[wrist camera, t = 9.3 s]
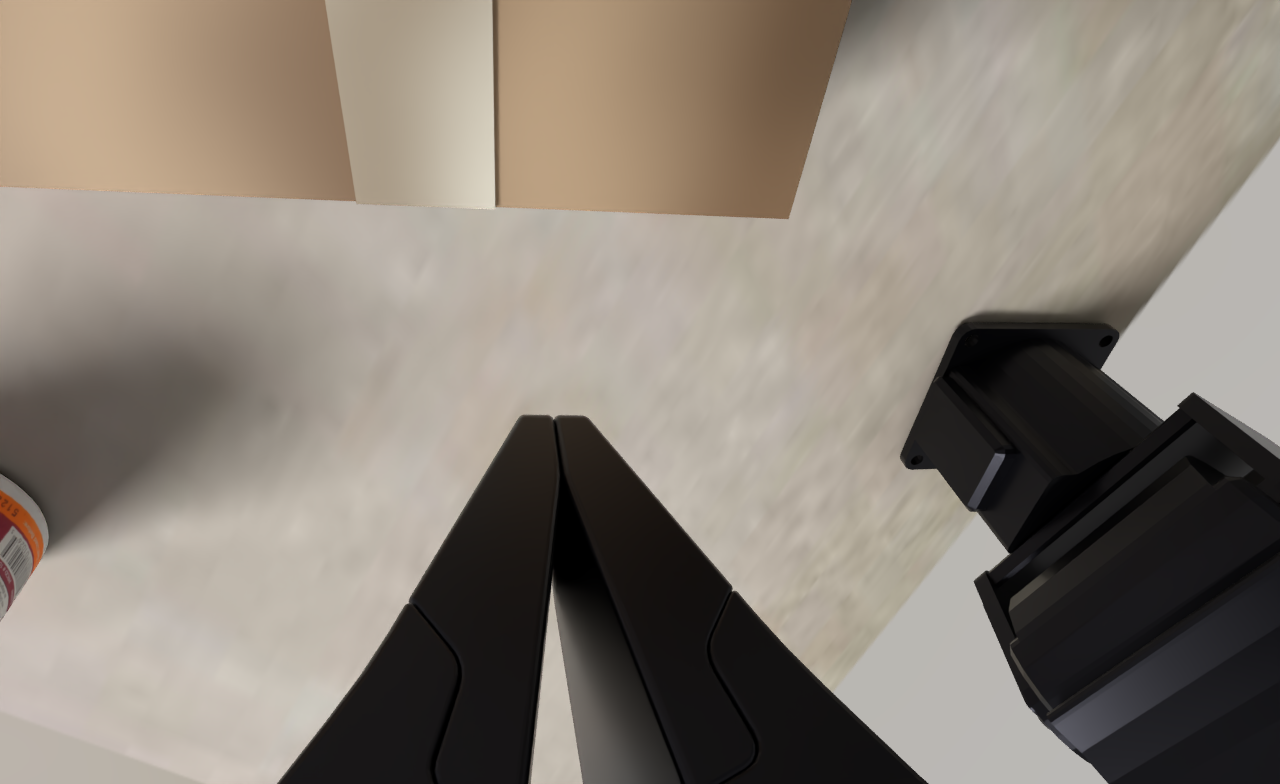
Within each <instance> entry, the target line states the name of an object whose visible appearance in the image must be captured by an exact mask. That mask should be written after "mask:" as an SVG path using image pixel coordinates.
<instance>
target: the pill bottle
mask: <svg viewBox="0 0 1280 784" xmlns="http://www.w3.org/2000/svg"><path fill="white" fill-rule="evenodd" d="M48 540H49V535H48V527H47V523H46V520H45V518H44V516H43V514H42V512H41V510H40V508H39V507H38V506H37V504H36V503H35V502H34V501H33V499H32V498H31V497H30V496H28V495H27V494H26V493H25V492H24V491H23V490H22V489H21V488H20V487H19V486H17V485H16V484H15V483H13V482H12V481H11V480H9V479H8V478H6V477H5V476H3V475H2V474H0V621H1V620H2V618H3V617H4V615H5V614H6V612H7V611H8V609H9V608H10V606H11V605H12V603H13V601H14V600H15V598H16V597H17V596H18V594H19V593H20V592H21V590H22V588H23V586H24V585H25V583H26V582H27V580H28V579H29V577H30V576H31V574H32V573H33V571H34V570H35V568H36V567H37V565H38V564H39V562H40V560H41V558H42V556H43V555H44V553H45V551H46V548H47V545H48Z"/></svg>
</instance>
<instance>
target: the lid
mask: <svg viewBox="0 0 1280 784" xmlns="http://www.w3.org/2000/svg"><path fill="white" fill-rule="evenodd" d="M851 2H852V0H0V187H22V188H47V189H71V190H95V191H120V192H144V193H169V194H193V195H217V196H242V197H266V198H290V199H315V200H339V201H356V203H357V204H373V205H398V206H423V207H447V208H472V209H495V207H510V208H534V209H559V210H583V211H607V212H632V213H656V214H681V215H705V216H729V217H754V218H778V219H789V215H790V212H791V208H792V205H793V202H794V198H795V195H796V191H797V188H798V184H799V181H800V178H801V174H802V171H803V167H804V164H805V160H806V157H807V153H808V150H809V147H810V143H811V140H812V136H813V133H814V129H815V126H816V122H817V119H818V116H819V112H820V109H821V105H822V102H823V98H824V95H825V92H826V88H827V85H828V81H829V78H830V74H831V71H832V67H833V64H834V61H835V57H836V54H837V50H838V47H839V43H840V40H841V36H842V33H843V30H844V26H845V23H846V19H847V16H848V12H849V9H850V6H851Z"/></svg>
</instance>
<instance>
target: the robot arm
mask: <svg viewBox="0 0 1280 784" xmlns="http://www.w3.org/2000/svg"><path fill="white" fill-rule="evenodd" d="M971 335H972V336H971ZM969 336H971V337H970V338H969V339H968V340H966V339H967V338H968V337H969ZM1118 339H1119V332H1118V331H1117V330H1116V329H1114V328H1113V327H1111V326H1110V325H1108V324H1080V323H966V324H964V325H962V326H960V327H959V328H958V329H957V330H956V331H955V332H954V334H953V335H952V338H951V340H950V342H949V345H948V347H947V349H946V351H945V354H944V356H943V358H942V361H941V363H940V365H939V367H938V370H937V372H936V374H935V377H934V379H933V381H932V383H931V386H930V388H929V390H928V393H927V395H926V397H925V399H924V402H923V404H922V406H921V409H920V411H919V413H918V415H917V418H916V420H915V422H914V425H913V427H912V429H911V431H910V434H909V436H908V438H907V440H906V443H905V445H904V447H903V450H902V452H901V455H900V459H901V461H902V462H903V464H904V465H905V467H906V468H908V469H912V470H914V469H938V471H939V472H940V473H941V475H942V476H943V477H944V479H945V480H946V481H947V483H948V484H949V485H950V487H951V488H952V489H953V491H954V492H955V493H956V495H957V496H958V497H959V499H960V500H961V501H962V503H963V504H964V505H965V507H966V508H967V509H968V510H969V511H970V512H976V511H977V512H978V513H979V515H980V516H981V517H982V519H983V520H984V521H985V522H986V524H987V525H988V526H989V528H990V529H991V530H992V532H993V533H994V534H995V536H996V537H997V538H998V540H999V541H1000V542H1001V543H1002V545H1003V546H1004V547H1005V549H1006V550H1007V551H1008V553H1010V554H1009V555H1008V556H1007V557H1006V558H1004V559H1003V560H1002V561H1001V562H1000V563H999V564H998V565H996V566H995V567H994V568H993V569H992V570H990V571H985V572H984V573H982V574H981V575H980V576H979V577H978V578H977V579H975V580H974V583H975V586H976V588H977V591H978V593H979V595H980V598H981V600H982V602H983V606H984V608H985V611H986V613H987V615H988V618H989V620H990V622H991V625H992V627H993V629H994V632H995V634H996V636H997V638H998V641H999V643H1000V645H1001V648H1002V650H1003V652H1004V655H1005V657H1006V659H1007V662H1008V664H1009V666H1010V668H1011V671H1012V673H1013V675H1014V678H1015V680H1016V682H1017V685H1018V687H1019V689H1020V692H1021V694H1022V696H1023V698H1024V701H1025V702H1026V704H1027V705H1028V707H1029V708H1030V709H1031V710H1032V711H1033V712H1034V713H1035V714H1036V715H1037V716H1038V718H1039V720H1040V721H1041V722H1042V723H1043V724H1044V725H1045V726H1046V727H1047V728H1048V729H1050V730H1051V731H1052V732H1053V733H1054V734H1055V735H1056V736H1057V737H1058V738H1059V739H1060V740H1061V741H1062V742H1063V743H1065V744H1066V745H1067V746H1068V747H1069V748H1070V749H1071V750H1072V751H1074V752H1075V753H1076V754H1078V755H1079V756H1080V757H1081V758H1083V759H1084V760H1086V761H1087V762H1089V763H1091V764H1092V765H1093V767H1094V768H1095V769H1096V770H1097V771H1098V772H1099V773H1100V775H1101V776H1102V777H1103V778H1104V779H1105V780H1106V781H1107V783H1108V784H1280V447H1279V446H1278V445H1276V444H1275V443H1273V442H1272V441H1271V440H1269V439H1268V438H1266V437H1264V436H1263V435H1261V434H1260V433H1258V432H1257V431H1255V430H1253V429H1251V428H1250V427H1248V426H1247V425H1245V424H1244V423H1242V422H1240V421H1238V420H1237V419H1236V418H1234V417H1232V416H1231V415H1229V414H1228V413H1226V412H1224V411H1223V410H1221V409H1220V408H1218V407H1216V406H1214V405H1213V404H1211V403H1210V402H1208V401H1207V400H1205V399H1203V398H1202V397H1200V396H1199V395H1197V394H1195V393H1194V392H1193V393H1191V394H1190V395H1189V396H1188V397H1187V398H1186V399H1184V400H1183V401H1182V402H1181V403H1180V404H1179V405H1178V407H1179V409H1178V410H1177V411H1176V412H1175V413H1173V414H1172V415H1171V416H1170V417H1169V418H1168V419H1166V420H1165V421H1163V420H1162V419H1160V418H1159V417H1158V416H1157V415H1156V414H1154V413H1153V412H1152V411H1151V410H1149V409H1148V408H1147V407H1146V406H1145V405H1143V404H1142V403H1141V402H1140V401H1138V400H1137V399H1136V398H1135V397H1133V396H1132V395H1131V394H1130V393H1129V392H1127V391H1126V390H1125V389H1123V388H1122V387H1121V386H1120V385H1119V384H1117V383H1116V382H1115V381H1114V380H1112V379H1111V378H1110V377H1109V376H1107V375H1106V374H1105V373H1104V372H1102V371H1101V370H1100V369H1101V368H1102V366H1103V364H1104V363H1105V361H1106V359H1107V358H1108V356H1109V355H1110V353H1111V351H1112V350H1113V348H1114V346H1115V345H1116V343H1117V341H1118ZM965 340H966V341H965ZM551 584H552V586H553V594H554V602H555V609H556V615H557V621H558V628H559V634H560V640H561V647H562V653H563V659H564V666H565V672H566V678H567V685H568V691H569V697H570V704H571V710H572V716H573V723H574V729H575V735H576V742H577V748H578V754H579V760H580V767H581V773H582V779H583V784H928V783H927V782H926V781H925V780H924V779H923V778H922V777H920V776H919V775H918V774H917V773H916V772H915V771H914V770H913V769H912V768H911V767H910V766H909V765H908V764H907V763H906V762H905V761H903V760H902V759H901V758H900V757H899V756H898V755H897V754H896V753H895V752H894V751H893V750H892V749H891V748H890V747H889V746H888V745H887V744H885V742H884V741H882V740H881V739H880V738H879V737H878V736H877V735H876V734H875V733H874V732H873V731H872V730H871V729H870V728H869V727H868V726H867V725H866V724H865V723H863V721H861V720H860V719H859V718H858V717H857V716H856V715H855V714H854V713H853V712H852V711H851V710H850V709H849V708H848V707H847V706H846V705H845V704H844V703H843V702H841V701H840V700H839V699H838V698H837V697H836V696H835V695H834V694H833V693H832V692H831V691H830V690H829V689H828V688H827V687H826V686H825V685H824V684H823V683H822V682H821V681H820V680H819V679H818V678H817V677H816V676H815V675H814V674H813V673H812V672H811V671H810V670H809V669H808V668H807V667H806V666H805V665H804V664H803V663H802V662H801V661H800V660H799V659H798V658H797V657H796V656H795V655H794V654H793V653H792V652H791V651H790V650H789V649H788V648H787V647H786V646H785V645H784V644H783V643H782V642H781V641H780V640H779V639H778V637H777V636H776V635H775V634H774V633H773V632H772V631H771V630H770V629H769V627H768V626H767V625H766V624H765V623H764V622H763V621H762V620H761V619H760V618H759V616H758V615H757V614H756V613H755V612H754V611H753V610H752V608H751V607H750V606H749V605H748V604H747V603H746V601H745V600H744V599H743V598H742V597H741V596H740V594H739V593H738V592H737V591H732V589H733V588H732V585H731V584H730V583H729V582H728V581H727V580H726V578H725V577H724V576H723V575H722V574H721V573H720V571H719V570H718V569H717V568H716V567H715V566H714V564H713V563H712V562H711V561H710V560H709V558H708V557H707V556H706V555H705V554H704V553H703V551H702V550H701V549H700V548H699V547H698V546H697V544H696V543H695V542H694V541H693V540H692V539H691V537H690V536H689V535H688V534H687V533H686V532H685V530H684V529H683V528H682V527H681V526H680V525H679V523H678V522H677V521H676V520H675V519H674V518H673V516H672V515H671V514H670V513H669V512H668V511H667V509H666V508H665V507H664V506H663V505H662V504H661V502H660V501H659V500H658V499H657V498H656V497H655V495H654V494H653V493H652V492H651V491H650V490H649V488H648V487H647V486H646V485H645V484H644V482H643V481H642V480H641V479H640V478H639V477H638V475H637V474H636V473H635V472H634V471H633V470H632V468H631V467H630V466H629V465H628V464H627V463H626V461H625V460H624V459H623V458H622V457H621V456H620V454H619V453H618V452H617V451H616V450H615V449H614V447H613V446H612V445H611V444H610V443H609V442H608V440H607V439H606V438H605V437H604V436H603V435H602V433H601V432H600V431H599V430H598V429H597V428H596V426H595V425H594V424H593V423H592V422H591V421H590V419H589V418H587V417H586V416H578V415H558V416H556V417H555V419H554V420H553V418H552V417H551V416H550V415H522V416H520V417H519V418H518V420H517V421H516V423H515V425H514V426H513V428H512V430H511V431H510V433H509V435H508V436H507V438H506V440H505V441H504V443H503V445H502V446H501V448H500V449H499V451H498V453H497V454H496V456H495V458H494V459H493V461H492V463H491V464H490V466H489V468H488V469H487V471H486V473H485V474H484V476H483V478H482V479H481V481H480V483H479V484H478V486H477V488H476V489H475V491H474V493H473V494H472V496H471V497H470V499H469V501H468V502H467V504H466V506H465V507H464V509H463V511H462V512H461V514H460V516H459V517H458V519H457V521H456V522H455V524H454V526H453V527H452V529H451V531H450V532H449V534H448V536H447V537H446V539H445V540H444V542H443V544H442V545H441V547H440V549H439V550H438V552H437V554H436V555H435V557H434V559H433V560H432V562H431V564H430V565H429V567H428V569H427V570H426V572H425V574H424V575H423V577H422V579H421V580H420V582H419V584H418V585H417V587H416V588H415V590H414V592H413V593H412V595H411V597H410V599H409V604H406V605H405V606H404V608H403V609H402V611H401V613H400V614H399V616H398V618H397V619H396V621H395V623H394V624H393V626H392V627H391V629H390V631H389V632H388V634H387V636H386V637H385V639H384V640H383V642H382V643H381V645H380V646H379V648H378V649H377V651H376V652H375V654H374V655H373V657H372V658H371V660H370V662H369V663H368V665H367V666H366V668H365V669H364V671H363V672H362V674H361V675H360V677H359V678H358V679H357V681H356V682H355V683H354V685H353V686H352V687H351V689H350V690H349V691H348V693H347V694H346V695H345V697H344V698H343V699H342V701H341V702H340V703H339V705H338V706H337V707H336V709H335V710H334V711H333V713H332V714H331V715H330V717H329V718H328V719H327V721H326V722H325V723H324V725H323V726H322V727H321V729H320V730H319V731H318V732H317V734H316V735H315V736H314V737H313V739H312V740H311V741H310V742H309V744H308V745H307V746H306V748H305V749H304V750H303V751H302V753H301V754H300V755H299V756H298V758H297V759H296V760H295V761H294V763H293V764H292V765H291V767H290V768H289V769H288V770H287V772H286V773H285V774H284V775H283V777H282V778H281V779H280V781H279V782H278V783H277V784H531V775H532V765H533V756H534V746H535V737H536V727H537V718H538V708H539V699H540V689H541V680H542V670H543V661H544V651H545V642H546V632H547V623H548V613H549V604H550V594H551Z"/></svg>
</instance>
